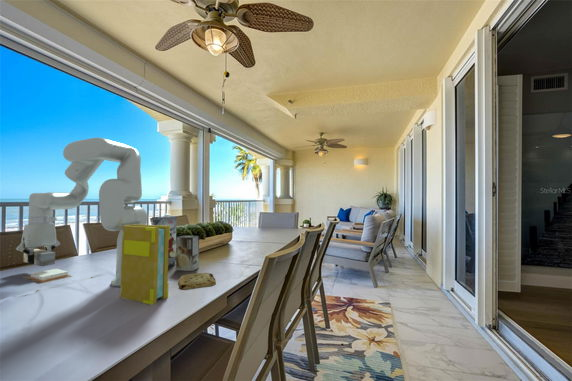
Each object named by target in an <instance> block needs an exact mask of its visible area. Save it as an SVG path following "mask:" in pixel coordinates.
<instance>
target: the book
mask: <svg viewBox="0 0 572 381" xmlns="http://www.w3.org/2000/svg"><path fill="white" fill-rule="evenodd" d="M169 239H170V226H163V225H161V226H159V225H152V224H146V225H140V224H134V225H123V235H122V264H121V287H120V295H119V296H120V298H121V299H124V300H130V301H136V302H140V303H143V304H147V305H150V306H151V305H152V306H153V305H155V304H156V303H158V299H162V300H165V299H167V298H169V285H170V284H169V282H168V281H169V267H168V247H169Z"/></svg>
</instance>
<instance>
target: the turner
mask: <svg viewBox="0 0 572 381" xmlns="http://www.w3.org/2000/svg"><path fill="white" fill-rule="evenodd" d="M33 255H34V264H33V265H35V266H40V267H45V266H52V265H55V264H56V263H55V262H56V251H46V250H45V249H39V248H35V249H34V252H33ZM27 260H28V255H27V254H26V253H24V252H23V263H27V264H29V263H28V262H27Z"/></svg>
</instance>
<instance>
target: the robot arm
mask: <svg viewBox="0 0 572 381" xmlns="http://www.w3.org/2000/svg"><path fill="white" fill-rule="evenodd" d="M62 153H63V154H62V155H63V158H64V159H65V160H66V161H68V162H70V164H69V165H68V166H67V168H66V169H65V170H64V175H65V177H67V178H68V179H69V180H70V181H72V182H74V183H75V186H74V187H73V189H71V191H70V192H54V191H53V192H52V191H51V192H34V193H31V194H30V195H29V196H28V197H29V198H28V199H29V200H28V214H27V215H28V218H27V219H28V220H27V224H24V227H23V231H22V236H21V242H20V244H19V245H18V246H17V247H16V248H15V250H16V251H19V252H21V253H23V254H24V253H26V254H27V255H28V260H27V262H28V263H27V262H26V263H27V264H28V265H35V264H34V255H33V252H34V249H36V248H40V247H44V250H46V251H51V252H53V250H54V249H55V248H57V247H58V246H60V245H61V242H60V241H59V240H58V238H57V230H56V225H55V223H54V221H57V219H58V218H57V217H54V216H53V215H54V211H55V210H57V211H58V210H73V209H75V208H77V207H79V206H80V205H81V204H82V202H83V201H84V200H85V199H86V198H87V196H88V194H89V189H90V188H89V182H88V181H89V180H90V179H91V178H92V176H93V175H94V173H96V171H97V170H98V169H99V167H100V166H101V165H102V164H103V162H104V161H108V162H115V163H119V164H118V166H117V169H116V178H110V179H106V180H105V181H104V182H102V184H101V185H100V187H99V190H98V203H99V217H100V218H99V219H100V224H101V225H102V227H103V228H104V229H105V230H107V231H108V232H109V231H111V232H117V231H119V233H118V235H117V239H116V256H115V259H116V261H115V262H116V264H115V268H116V269H115V278H113V279H111V281H110V286H113V287H116V288H117V287H120V288H121V264H122V235H123V225H134V224H140V225H147V222H148V213H147V211H146V210H145V209H144V208H143V207H142V206H138V205H125V204H127V203H128V204H129V203H136V202H138V201H140V200H141V199H142V196H143V193H142V192H143V189H142V188H143V187H142V174H141V165H142V164H141V163H142V160H141V159H142V158H141V155H140V152H139V151H138V150H137V148H134V147H133V146H131V145H127V144H125V143H122V142H118V141H114V140H111V139H108V138H103V137H91V138H86V139H80V140H75V141H71V142H69V143H68V144H67V145H66V146H65V147H64V148H63V151H62Z"/></svg>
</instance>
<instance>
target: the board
mask: <svg viewBox="0 0 572 381" xmlns="http://www.w3.org/2000/svg"><path fill="white" fill-rule="evenodd" d="M71 277H73V275H71V274H68V276H67V277H62V278H58V279H54V280H49V281H45V282H40V281H37V280H34V279H31V274H30V275H24V276H21V278H22V279H25V280H29V281H32V282H33V283H34V282H35V283H38V284H45V283H51V282H54V281H58V280H62V279H67V278H71Z"/></svg>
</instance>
